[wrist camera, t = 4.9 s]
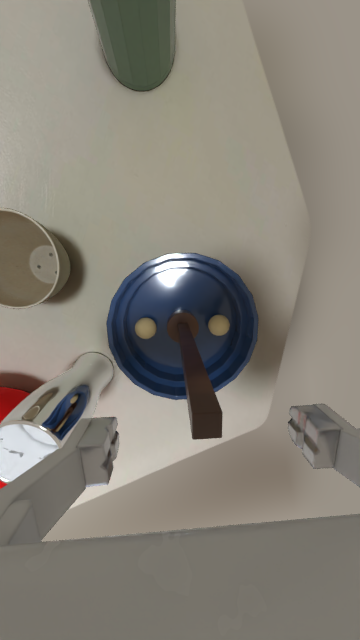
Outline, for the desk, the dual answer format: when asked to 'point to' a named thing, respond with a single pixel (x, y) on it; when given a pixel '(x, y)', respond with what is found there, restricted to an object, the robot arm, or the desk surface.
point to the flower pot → (29, 261)
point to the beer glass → (51, 414)
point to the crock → (136, 39)
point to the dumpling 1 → (145, 328)
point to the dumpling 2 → (218, 325)
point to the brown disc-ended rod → (195, 378)
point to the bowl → (172, 295)
